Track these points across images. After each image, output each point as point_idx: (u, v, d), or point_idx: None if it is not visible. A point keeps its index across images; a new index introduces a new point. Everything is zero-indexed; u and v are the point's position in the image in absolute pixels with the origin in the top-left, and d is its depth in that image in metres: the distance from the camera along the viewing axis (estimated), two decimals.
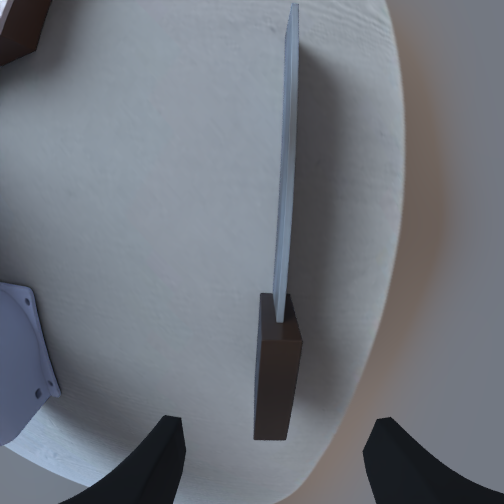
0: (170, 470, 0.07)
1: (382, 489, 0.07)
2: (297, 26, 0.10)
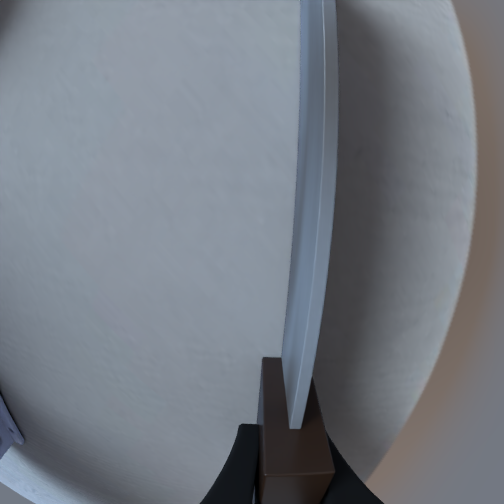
0: None
1: None
2: None
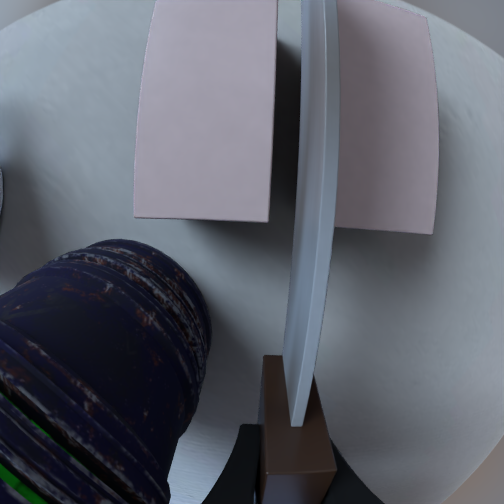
0: None
1: None
2: None
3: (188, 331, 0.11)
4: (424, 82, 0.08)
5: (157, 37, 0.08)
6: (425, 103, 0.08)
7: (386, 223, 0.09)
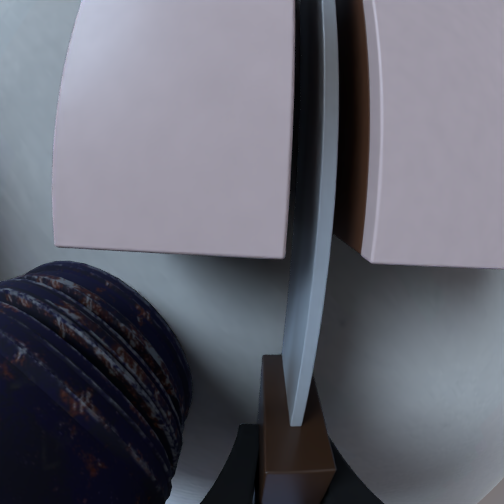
0: None
1: None
2: None
3: (150, 406, 0.07)
4: None
5: None
6: None
7: (473, 256, 0.05)
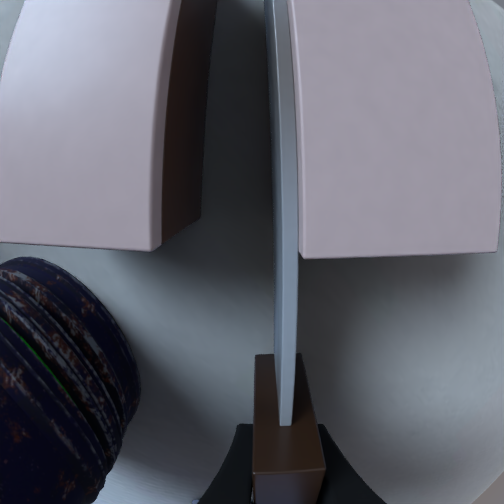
0: None
1: None
2: None
3: (80, 390, 0.07)
4: (457, 8, 0.04)
5: None
6: (465, 37, 0.04)
7: (430, 242, 0.05)
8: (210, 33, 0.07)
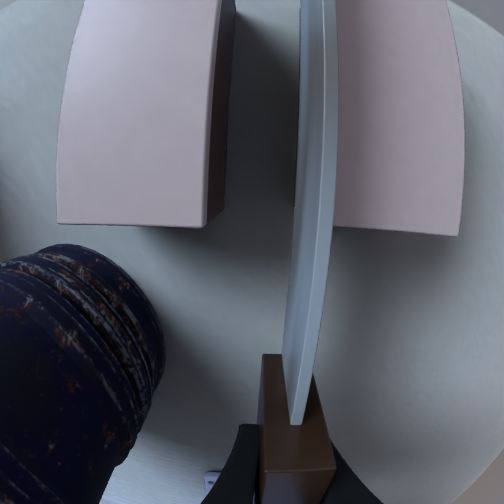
0: (255, 479, 0.07)
1: None
2: None
3: (123, 351, 0.09)
4: (444, 52, 0.06)
5: (87, 18, 0.06)
6: (447, 76, 0.06)
7: (403, 222, 0.07)
8: (230, 58, 0.10)
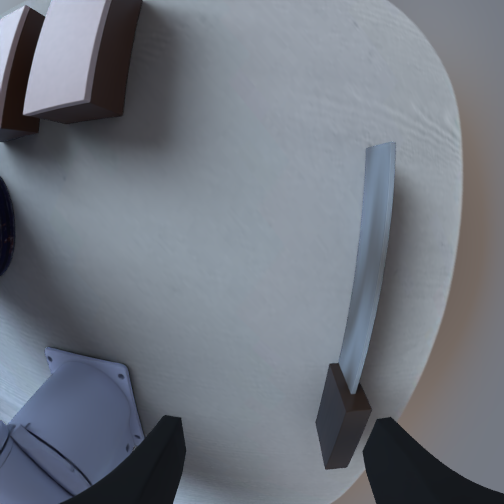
0: (170, 470, 0.07)
1: (382, 489, 0.07)
2: (394, 170, 0.13)
3: None
4: (94, 9, 0.10)
5: None
6: (91, 21, 0.10)
7: (53, 102, 0.11)
8: None
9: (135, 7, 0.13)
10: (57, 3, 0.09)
